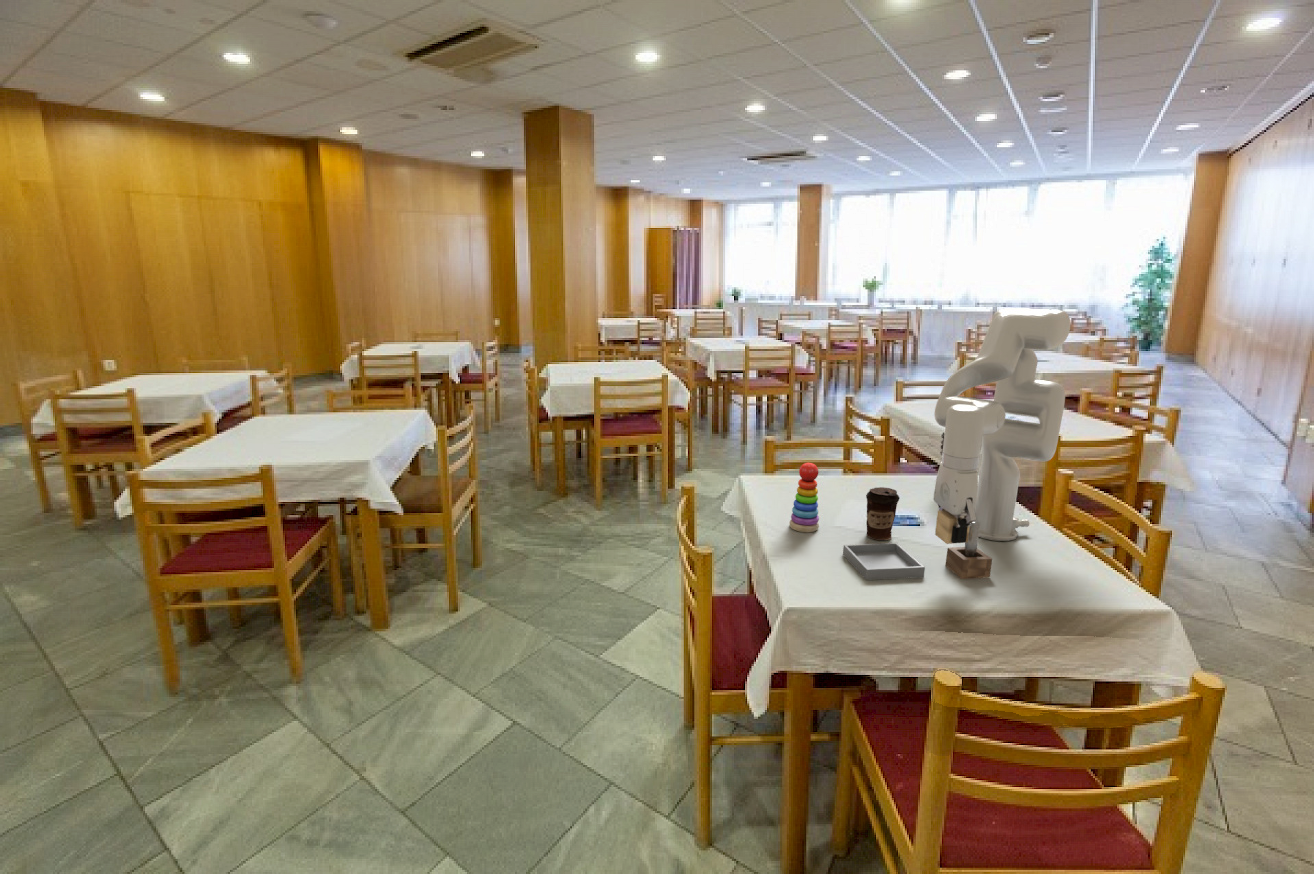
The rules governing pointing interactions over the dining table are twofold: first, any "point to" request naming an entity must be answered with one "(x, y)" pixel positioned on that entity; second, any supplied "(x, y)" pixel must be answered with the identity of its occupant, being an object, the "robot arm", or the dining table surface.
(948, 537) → the oak block
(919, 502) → the dining table surface
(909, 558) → the tray
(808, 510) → the stacking toy
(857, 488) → the dining table surface
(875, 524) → the coffee cup
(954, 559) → the go block
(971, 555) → the cylinder
